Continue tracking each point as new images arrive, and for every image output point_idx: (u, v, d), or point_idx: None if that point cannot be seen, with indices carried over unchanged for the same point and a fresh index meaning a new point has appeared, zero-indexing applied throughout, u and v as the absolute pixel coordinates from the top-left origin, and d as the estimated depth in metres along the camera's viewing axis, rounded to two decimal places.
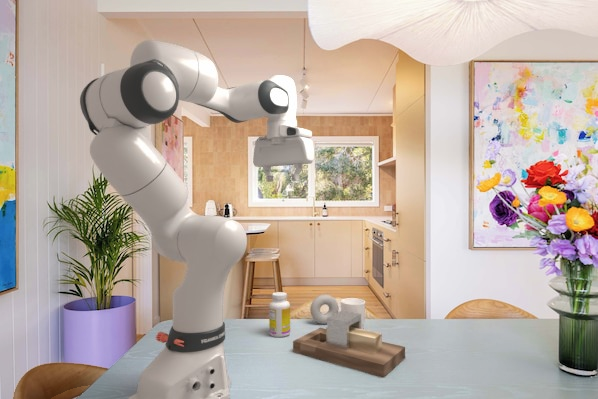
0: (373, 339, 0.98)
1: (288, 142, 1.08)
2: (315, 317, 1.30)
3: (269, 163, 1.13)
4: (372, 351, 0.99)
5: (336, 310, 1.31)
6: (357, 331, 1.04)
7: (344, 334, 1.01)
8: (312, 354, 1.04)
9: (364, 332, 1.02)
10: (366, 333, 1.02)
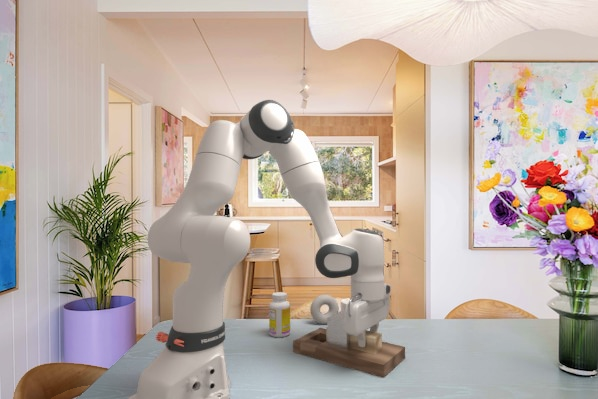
0: (373, 339, 0.98)
1: (381, 300, 1.04)
2: (315, 317, 1.30)
3: (368, 327, 0.98)
4: (372, 351, 0.99)
5: (336, 310, 1.31)
6: None
7: (344, 334, 1.01)
8: (312, 354, 1.04)
9: None
10: (366, 333, 1.02)
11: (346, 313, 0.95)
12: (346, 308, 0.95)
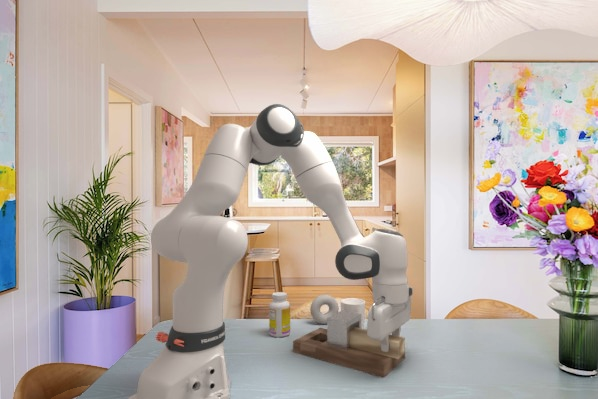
0: (396, 343, 0.95)
1: (403, 303, 1.00)
2: (315, 317, 1.30)
3: (391, 331, 0.95)
4: (395, 356, 0.95)
5: (336, 310, 1.31)
6: None
7: (344, 334, 1.01)
8: (312, 354, 1.04)
9: None
10: (389, 337, 0.98)
11: (370, 317, 0.91)
12: (369, 312, 0.92)
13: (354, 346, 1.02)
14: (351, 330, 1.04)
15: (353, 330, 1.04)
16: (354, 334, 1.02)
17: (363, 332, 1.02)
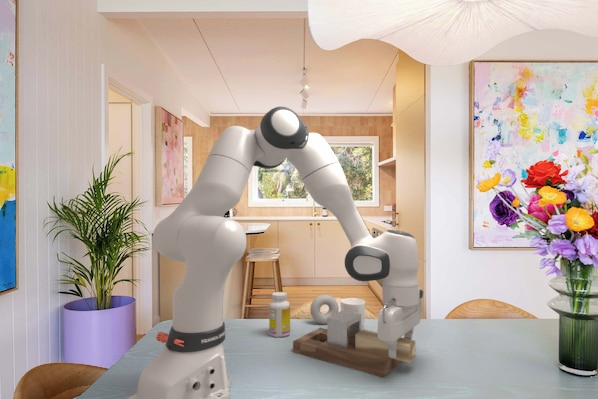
0: (407, 347, 0.93)
1: (413, 306, 0.98)
2: (315, 317, 1.30)
3: (402, 334, 0.93)
4: (406, 359, 0.93)
5: (336, 310, 1.31)
6: None
7: (344, 334, 1.01)
8: (312, 354, 1.04)
9: None
10: (399, 341, 0.96)
11: (380, 320, 0.89)
12: (380, 314, 0.90)
13: (363, 349, 1.00)
14: (360, 333, 1.02)
15: (363, 333, 1.02)
16: (363, 337, 1.00)
17: (373, 335, 1.01)
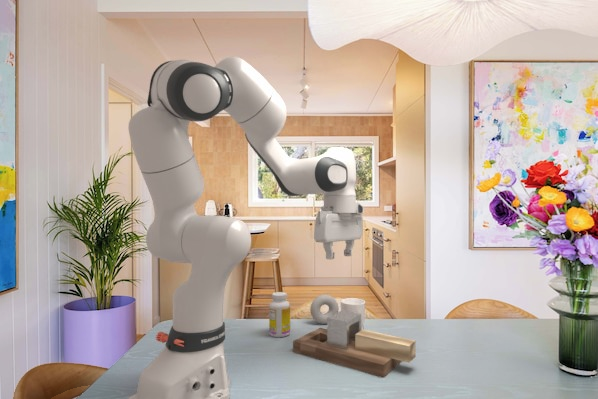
0: (407, 347, 0.93)
1: (353, 218, 1.07)
2: (315, 317, 1.30)
3: (338, 239, 1.02)
4: (406, 359, 0.93)
5: (336, 310, 1.31)
6: (389, 338, 0.98)
7: (344, 334, 1.01)
8: (312, 354, 1.04)
9: (396, 339, 0.97)
10: (399, 341, 0.96)
11: (316, 222, 0.98)
12: (317, 217, 0.99)
13: (363, 349, 1.00)
14: (360, 333, 1.02)
15: (363, 333, 1.02)
16: (363, 337, 1.00)
17: (373, 335, 1.01)
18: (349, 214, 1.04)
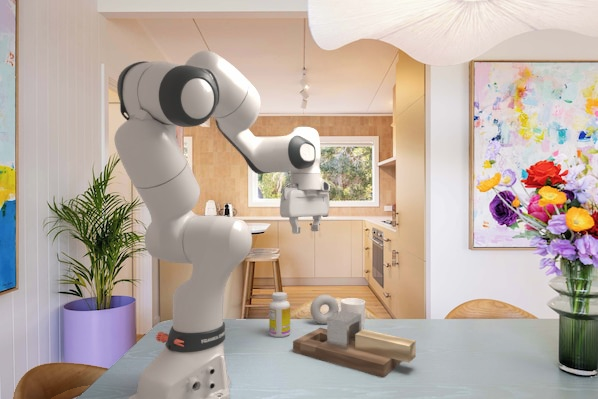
0: (407, 347, 0.93)
1: (319, 195, 1.13)
2: (315, 317, 1.30)
3: (304, 214, 1.07)
4: (406, 359, 0.93)
5: (336, 310, 1.31)
6: (389, 338, 0.98)
7: (344, 334, 1.01)
8: (312, 354, 1.04)
9: (396, 339, 0.97)
10: (399, 341, 0.96)
11: (282, 198, 1.04)
12: (282, 194, 1.04)
13: (363, 349, 1.00)
14: (360, 333, 1.02)
15: (363, 333, 1.02)
16: (363, 337, 1.00)
17: (373, 335, 1.01)
18: (314, 191, 1.09)
